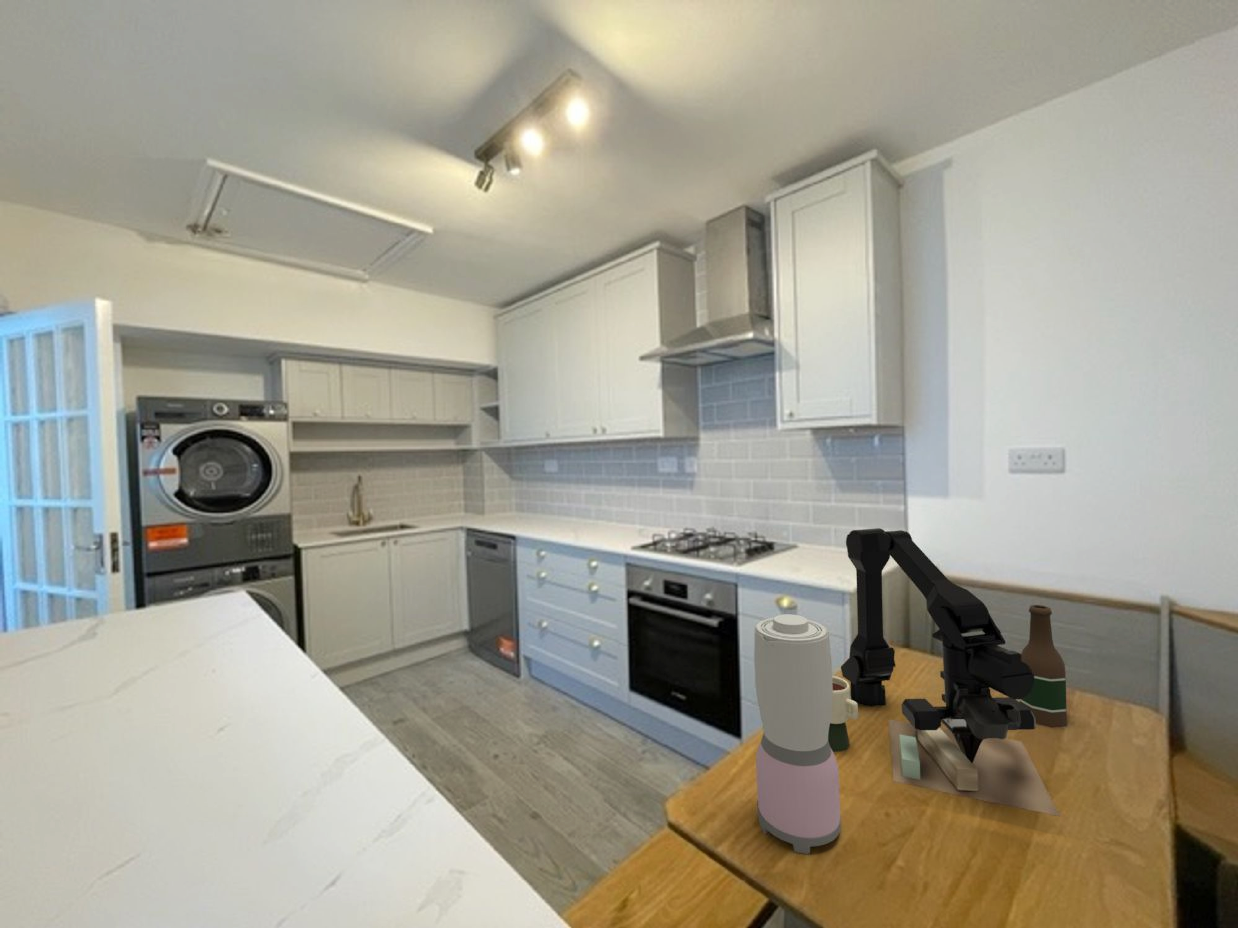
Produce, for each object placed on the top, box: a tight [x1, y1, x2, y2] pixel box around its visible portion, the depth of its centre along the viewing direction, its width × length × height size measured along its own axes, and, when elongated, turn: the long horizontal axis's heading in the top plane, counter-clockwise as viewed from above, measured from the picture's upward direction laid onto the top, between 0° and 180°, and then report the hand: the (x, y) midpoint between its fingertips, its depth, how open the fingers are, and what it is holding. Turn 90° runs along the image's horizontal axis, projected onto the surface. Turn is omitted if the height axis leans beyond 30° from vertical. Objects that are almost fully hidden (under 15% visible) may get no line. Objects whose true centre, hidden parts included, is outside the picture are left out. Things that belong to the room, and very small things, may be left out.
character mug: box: [828, 675, 859, 753], centre depth 98 cm, size 11×7×13 cm, turn 35°
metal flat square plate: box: [887, 719, 1061, 817], centre depth 91 cm, size 22×21×2 cm
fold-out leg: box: [915, 726, 978, 791], centre depth 91 cm, size 17×3×4 cm, turn 172°
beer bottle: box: [1018, 604, 1068, 729], centre depth 103 cm, size 8×8×24 cm
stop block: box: [899, 734, 920, 780], centre depth 90 cm, size 3×8×3 cm, turn 154°
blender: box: [753, 613, 842, 855], centre depth 80 cm, size 16×12×32 cm
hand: (968, 762), depth 87 cm, fingers closed
